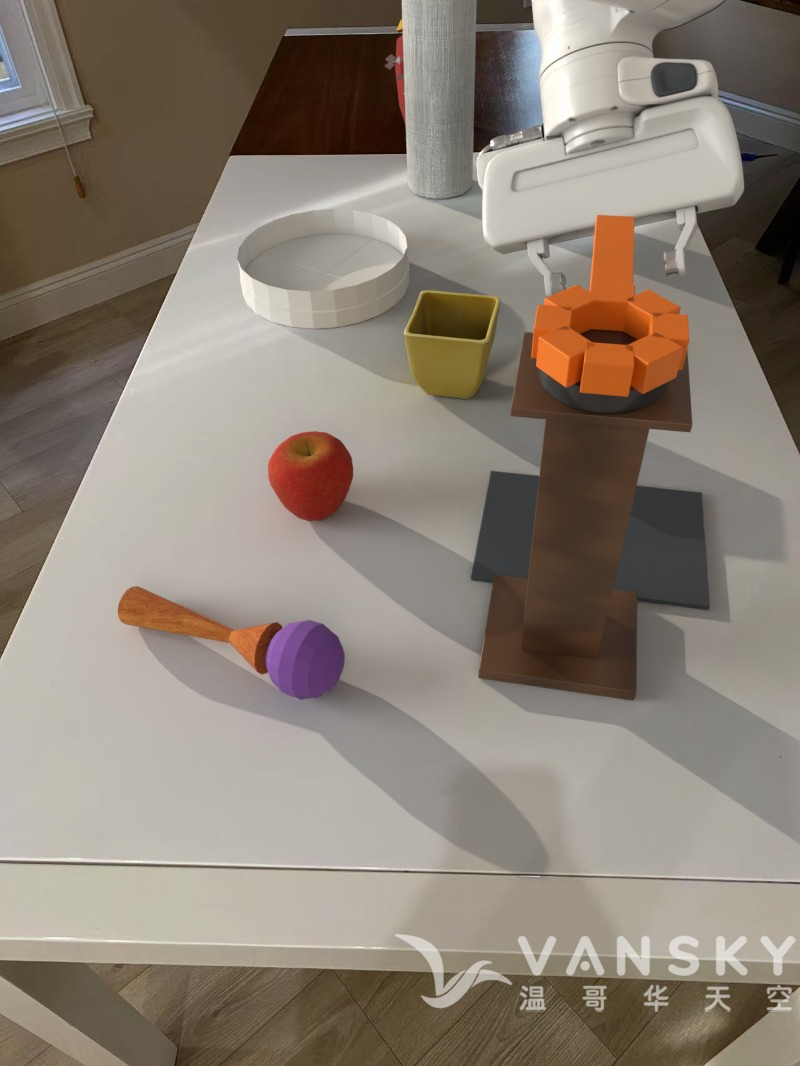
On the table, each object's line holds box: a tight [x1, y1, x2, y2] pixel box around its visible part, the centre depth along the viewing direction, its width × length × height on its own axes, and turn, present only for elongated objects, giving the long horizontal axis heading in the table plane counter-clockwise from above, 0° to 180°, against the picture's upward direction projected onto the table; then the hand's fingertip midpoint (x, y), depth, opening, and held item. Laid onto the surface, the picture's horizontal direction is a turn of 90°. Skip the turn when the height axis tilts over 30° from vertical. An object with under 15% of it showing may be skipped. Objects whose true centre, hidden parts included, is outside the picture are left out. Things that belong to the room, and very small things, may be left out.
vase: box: [401, 0, 478, 200], centre depth 118 cm, size 10×10×27 cm
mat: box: [470, 470, 711, 611], centre depth 75 cm, size 20×14×1 cm
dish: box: [236, 208, 411, 330], centre depth 107 cm, size 22×22×5 cm
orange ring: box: [531, 215, 690, 397], centre depth 50 cm, size 8×18×2 cm, turn 169°
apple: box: [267, 430, 354, 522], centre depth 77 cm, size 8×8×8 cm
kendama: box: [117, 585, 346, 700], centre depth 66 cm, size 6×6×20 cm
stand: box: [478, 329, 693, 701], centre depth 58 cm, size 12×10×28 cm
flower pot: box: [403, 290, 502, 400], centre depth 89 cm, size 9×9×9 cm
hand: (614, 286), depth 67 cm, fingers open, 8 cm apart
